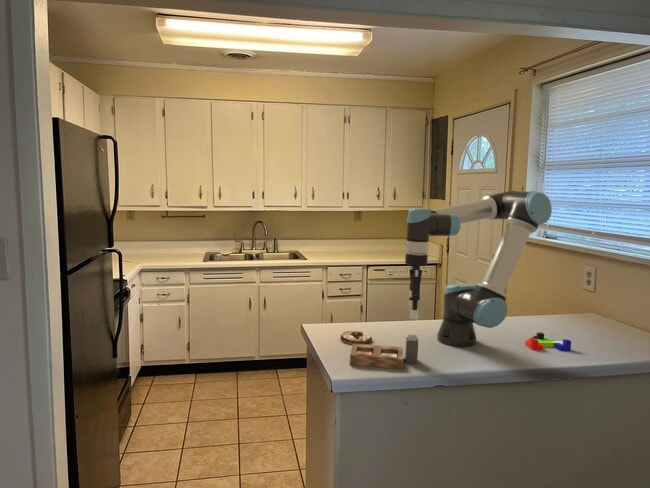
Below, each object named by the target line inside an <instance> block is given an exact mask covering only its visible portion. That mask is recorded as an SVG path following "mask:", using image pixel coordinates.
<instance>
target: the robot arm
mask: <svg viewBox="0 0 650 488" xmlns="http://www.w3.org/2000/svg"><path fill="white" fill-rule="evenodd" d="M552 207H553V206H552V204H551V199H550V198H549V197H548V195H546V194H545V193H543V192H539V191H535V190H531V191H522V190H508V191H503V192H499V193H495V194H490V195H486V196H483V197H482V198H481V199H479V200H475V201H469V202H463V203H459V204H453V205H450V206H449V205H447V206H444V207H440V208H439V207H438V208H433V209H429V208H422V207H412V208H410V209H408V213H407V219H406V242H405V243H404V246H405V247H406V248H405V252H406V253H405V259H404V260H405V261H404V263H405V264H406V266H410V267H411V268H410V269H409V280H410V281H409V294H408V295H409V296H408V310H409V319H410V320H419V309H420V299H421V295H420V293H421V281H422V275H423V274H422V273H423V272H422V269H420V268H421V267H425V266H427V265H428V258H429V256H428V253H429V245H430V244H429V243H430V237H453V236H457V235H458V234H459V232H460V230H461V224H466V223H471V222H475V221H480V220H488V221H492V220H505V223H506V225H507V226H506V228H505V230H504V232H503V235H502V237H501V239H500V241H499V244H498V245H497V248H496V250H495V252H494V254H493V257H492V258H491V262H490V264H489V266H488V268H487V270H486V272H485V275H484V277H483V279H482V281H481V282H479V283H477V284H471V283H470V284H469V283H453V284H452V283H451V284H447V285H446V286H445V289H444V293H443V313H442V321H441V324H440V327H439V329H438V331H437V341H438V342H440V343H442V344H444V345H448V346H452V347H463V348H466V347H472V346H475V345H476V344H477V335H476V331H475V326H474V324H475V325H476V326H477V325H478V326H479V327H484V328H487V329H491V328H495V327H498V326H499V325H501V324H502V323H503V322H504V320H505V319H506V317H507V315H508V305H507V303H506V299H507V295H506V292H505V291H506V289H507V286H508V284H509V282H510V280H511V278H512V275H513V273H514V271H515V269H516V267H517V264H518V262H519V259H520V257H521V255H522V253H523V251H524V249H525V246H526V244H527V242H528V240H529V237H530V235H531V234H533V233H535V232H537V230H538V227H539V225H543V224H545V223H547V222H548V221H549V220H550V218H551V216H552V210H553V208H552Z"/></svg>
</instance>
